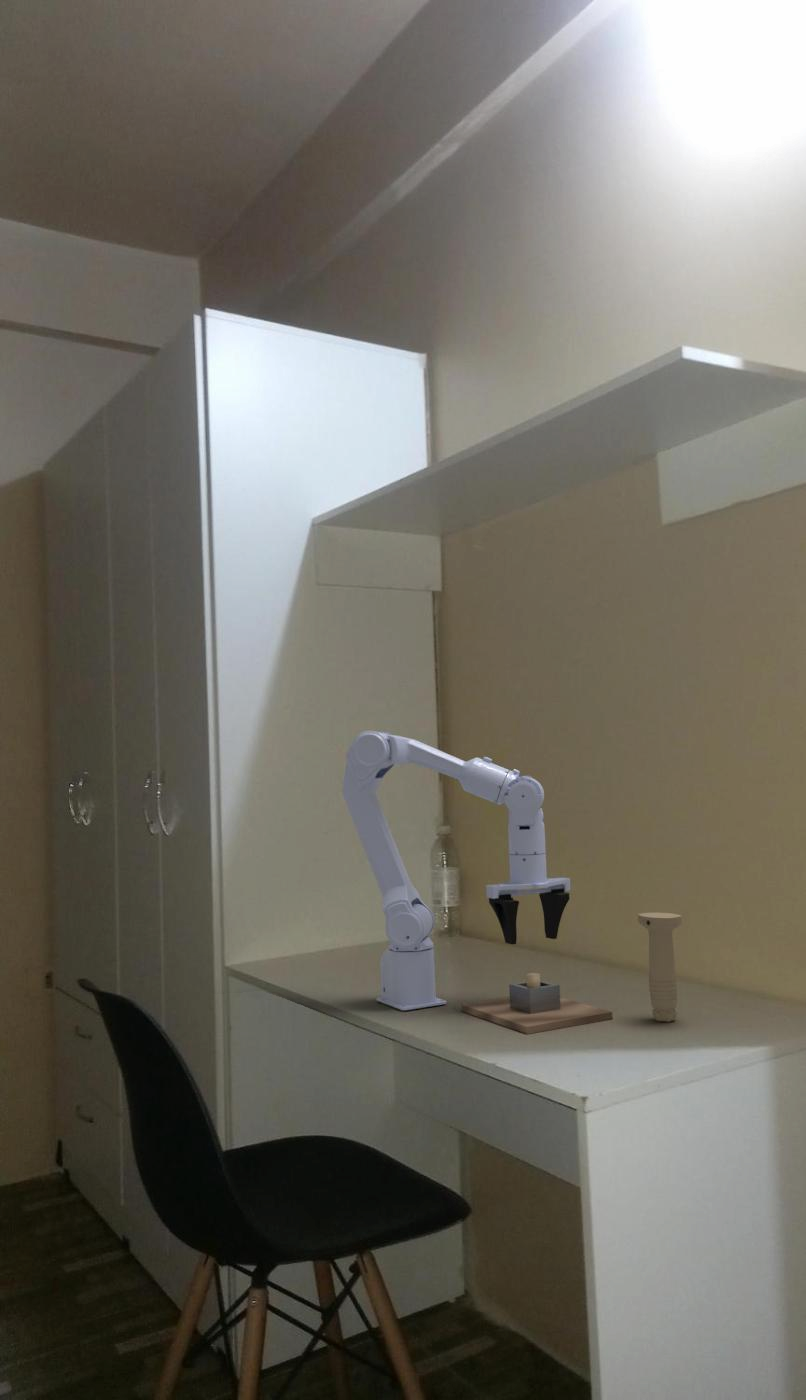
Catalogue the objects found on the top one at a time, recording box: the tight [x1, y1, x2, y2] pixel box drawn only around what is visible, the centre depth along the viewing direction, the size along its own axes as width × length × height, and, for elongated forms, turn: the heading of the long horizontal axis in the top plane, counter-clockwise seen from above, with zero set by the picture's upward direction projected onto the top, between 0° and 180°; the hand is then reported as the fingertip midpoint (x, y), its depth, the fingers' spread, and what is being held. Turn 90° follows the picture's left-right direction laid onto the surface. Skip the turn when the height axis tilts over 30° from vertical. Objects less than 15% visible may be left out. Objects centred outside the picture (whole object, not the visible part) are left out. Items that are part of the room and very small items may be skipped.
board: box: [460, 972, 613, 1035], centre depth 168 cm, size 18×15×6 cm
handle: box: [637, 911, 683, 1023], centre depth 162 cm, size 5×6×15 cm
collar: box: [508, 979, 561, 1014], centre depth 167 cm, size 5×5×4 cm
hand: (531, 940), depth 175 cm, fingers open, 7 cm apart
